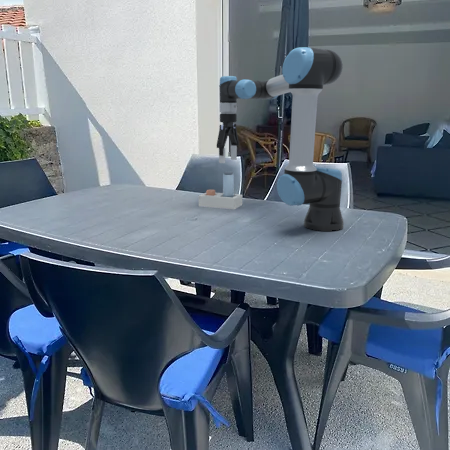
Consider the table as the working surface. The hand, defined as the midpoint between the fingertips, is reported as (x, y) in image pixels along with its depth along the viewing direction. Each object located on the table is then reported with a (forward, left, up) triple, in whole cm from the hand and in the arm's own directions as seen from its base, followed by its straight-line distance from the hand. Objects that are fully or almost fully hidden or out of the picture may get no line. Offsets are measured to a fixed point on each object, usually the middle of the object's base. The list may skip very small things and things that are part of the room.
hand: (228, 161), depth 195 cm
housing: (0, +4, -22) cm, 22 cm away
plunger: (0, +9, -19) cm, 21 cm away
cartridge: (0, 0, -21) cm, 21 cm away
